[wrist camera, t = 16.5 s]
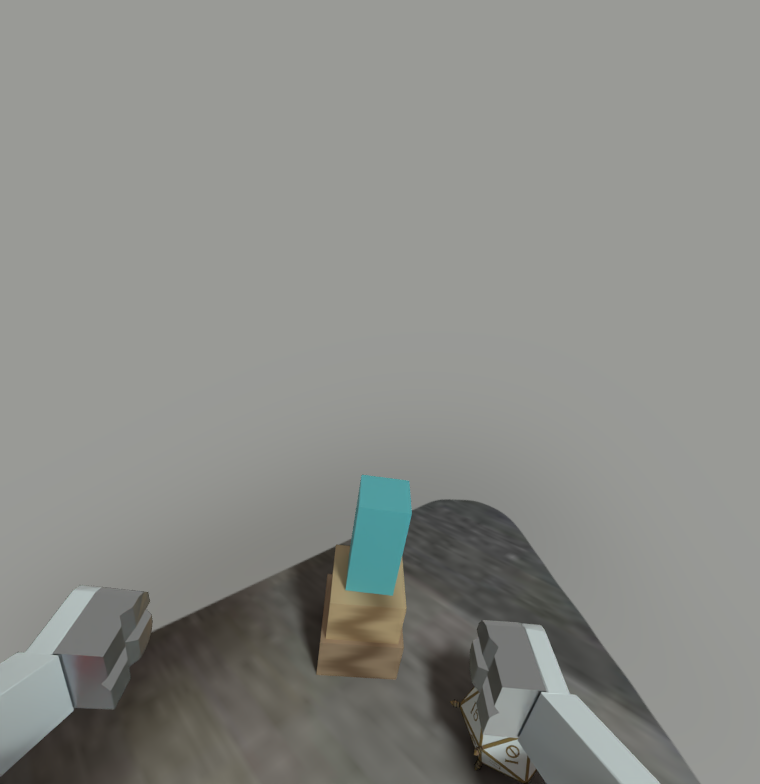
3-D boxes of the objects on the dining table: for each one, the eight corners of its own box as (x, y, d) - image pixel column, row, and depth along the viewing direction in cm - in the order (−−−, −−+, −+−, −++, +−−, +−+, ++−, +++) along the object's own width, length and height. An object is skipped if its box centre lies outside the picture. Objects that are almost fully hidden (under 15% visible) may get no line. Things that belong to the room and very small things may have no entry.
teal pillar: (345, 590, 40) (358, 506, 35) (349, 553, 44) (361, 474, 39) (392, 595, 40) (411, 513, 36) (392, 558, 44) (409, 480, 40)
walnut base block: (316, 675, 42) (320, 642, 40) (324, 604, 49) (327, 573, 47) (395, 680, 43) (403, 648, 41) (391, 609, 50) (398, 579, 48)
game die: (490, 746, 42) (546, 659, 42) (539, 843, 33) (609, 735, 34) (420, 709, 40) (479, 619, 40) (453, 802, 31) (528, 688, 32)
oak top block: (325, 639, 40) (330, 603, 38) (331, 578, 47) (335, 544, 45) (398, 644, 41) (406, 608, 39) (394, 583, 47) (401, 550, 45)
